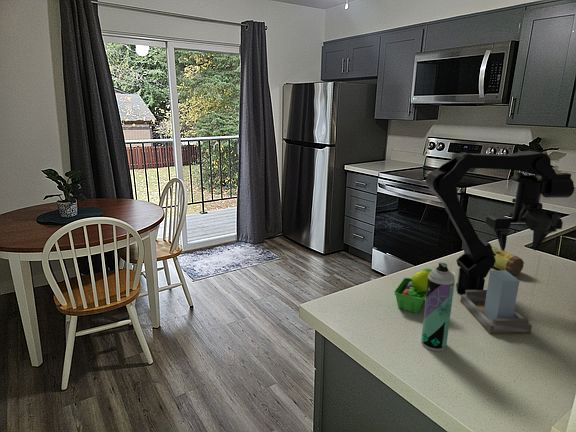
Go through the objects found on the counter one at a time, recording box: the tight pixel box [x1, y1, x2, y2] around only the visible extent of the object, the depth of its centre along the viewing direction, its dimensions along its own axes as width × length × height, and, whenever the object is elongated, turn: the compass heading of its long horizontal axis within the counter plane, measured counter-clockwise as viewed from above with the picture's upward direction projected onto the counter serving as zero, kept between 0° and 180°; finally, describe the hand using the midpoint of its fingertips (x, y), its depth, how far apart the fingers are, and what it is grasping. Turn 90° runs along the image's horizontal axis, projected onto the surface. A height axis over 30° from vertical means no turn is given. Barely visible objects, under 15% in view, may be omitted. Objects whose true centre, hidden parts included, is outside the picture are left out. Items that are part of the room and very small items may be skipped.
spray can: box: [420, 262, 456, 352], centre depth 86 cm, size 6×6×20 cm
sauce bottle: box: [491, 245, 525, 276], centre depth 133 cm, size 6×6×20 cm
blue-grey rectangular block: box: [484, 269, 520, 322], centre depth 97 cm, size 6×4×12 cm, turn 0°
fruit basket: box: [393, 267, 432, 314], centre depth 105 cm, size 11×9×11 cm
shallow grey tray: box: [460, 289, 533, 335], centre depth 100 cm, size 16×10×4 cm, turn 0°
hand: (518, 250), depth 111 cm, fingers open, 9 cm apart
